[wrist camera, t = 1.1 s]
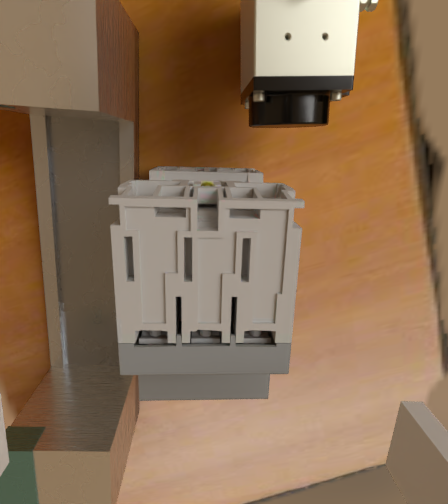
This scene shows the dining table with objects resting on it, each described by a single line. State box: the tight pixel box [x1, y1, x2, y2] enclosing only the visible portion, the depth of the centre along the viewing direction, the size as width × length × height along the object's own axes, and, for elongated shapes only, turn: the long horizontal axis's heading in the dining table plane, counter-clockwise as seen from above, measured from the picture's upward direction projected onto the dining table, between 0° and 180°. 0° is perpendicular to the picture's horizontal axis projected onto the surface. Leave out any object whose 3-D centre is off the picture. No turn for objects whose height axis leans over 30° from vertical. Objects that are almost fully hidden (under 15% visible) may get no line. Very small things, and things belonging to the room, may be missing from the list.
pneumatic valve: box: [241, 0, 378, 128], centre depth 20 cm, size 6×12×12 cm, turn 1°
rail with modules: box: [0, 0, 139, 504], centre depth 24 cm, size 32×7×11 cm, turn 176°
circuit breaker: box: [109, 166, 305, 401], centre depth 23 cm, size 8×14×15 cm, turn 178°
